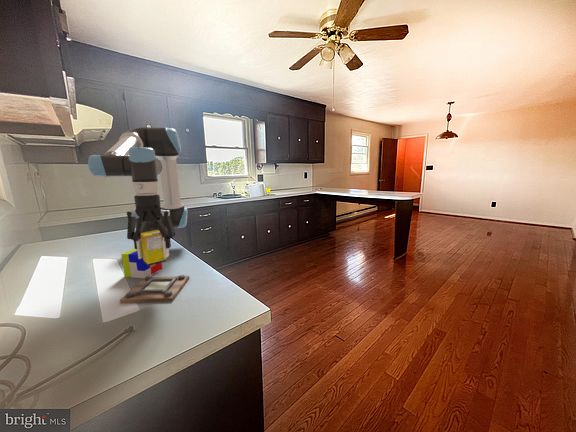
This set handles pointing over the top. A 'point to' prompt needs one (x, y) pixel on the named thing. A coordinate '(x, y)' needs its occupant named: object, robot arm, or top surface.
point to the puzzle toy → (137, 265)
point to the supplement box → (152, 247)
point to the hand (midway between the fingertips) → (154, 257)
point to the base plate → (156, 289)
